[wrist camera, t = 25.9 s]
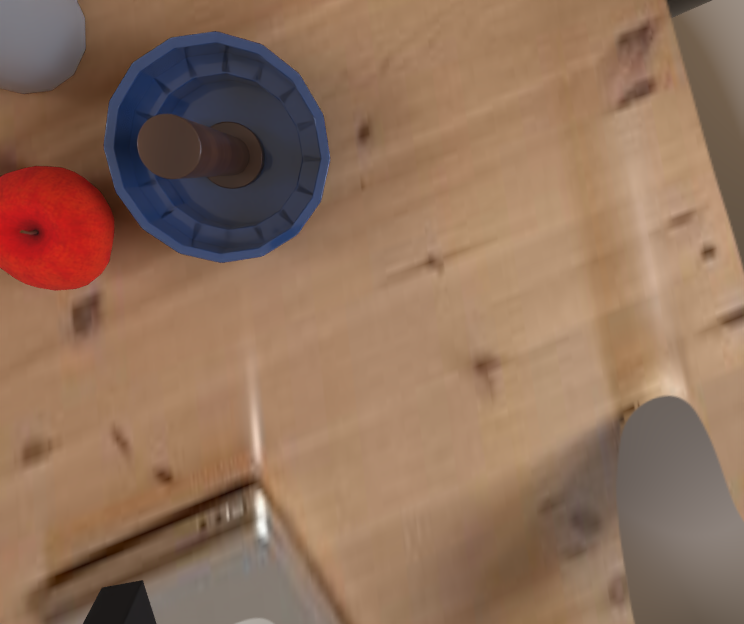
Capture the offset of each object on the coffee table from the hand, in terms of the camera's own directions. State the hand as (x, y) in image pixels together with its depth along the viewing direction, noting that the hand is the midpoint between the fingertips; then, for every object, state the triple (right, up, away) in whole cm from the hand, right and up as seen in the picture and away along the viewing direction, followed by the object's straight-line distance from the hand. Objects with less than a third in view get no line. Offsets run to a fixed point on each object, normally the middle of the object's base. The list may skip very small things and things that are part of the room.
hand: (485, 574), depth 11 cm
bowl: (-12, +16, +28) cm, 34 cm away
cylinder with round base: (-12, +16, +27) cm, 34 cm away
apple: (-23, +12, +28) cm, 38 cm away
